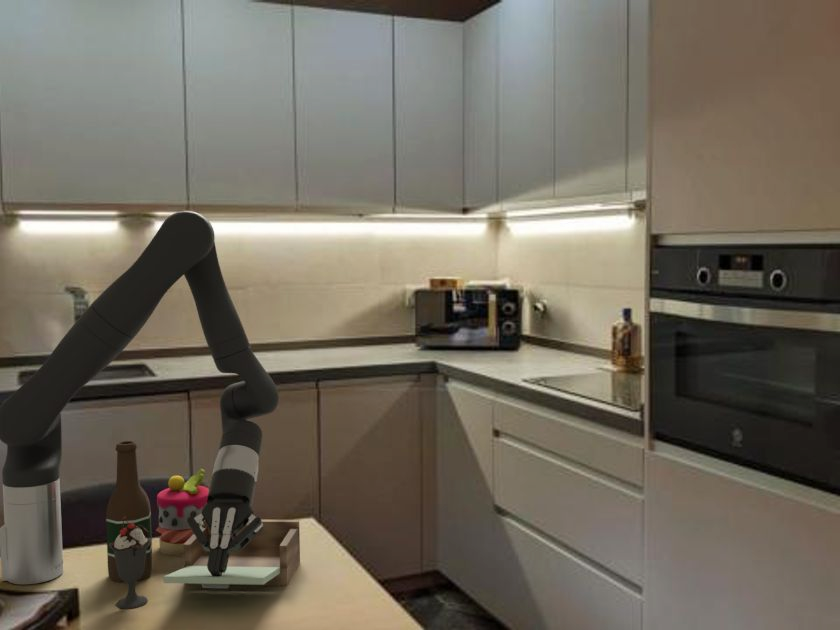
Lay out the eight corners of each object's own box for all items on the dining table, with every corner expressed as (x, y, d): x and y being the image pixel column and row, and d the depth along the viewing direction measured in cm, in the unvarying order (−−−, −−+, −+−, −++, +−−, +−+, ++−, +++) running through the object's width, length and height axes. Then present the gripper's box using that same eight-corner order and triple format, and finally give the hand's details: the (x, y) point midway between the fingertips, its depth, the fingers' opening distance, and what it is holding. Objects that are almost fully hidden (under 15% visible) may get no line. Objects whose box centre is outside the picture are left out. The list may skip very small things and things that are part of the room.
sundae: (114, 614, 139) (110, 522, 138) (108, 599, 145) (104, 510, 144) (156, 606, 142) (153, 515, 141) (148, 592, 148) (146, 505, 147)
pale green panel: (188, 576, 151) (163, 588, 139) (189, 565, 151) (164, 576, 139) (280, 577, 150) (263, 589, 138) (280, 566, 150) (263, 577, 138)
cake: (165, 560, 164) (163, 481, 162) (152, 543, 173) (149, 469, 171) (220, 550, 169) (218, 473, 168) (204, 534, 178) (202, 462, 177)
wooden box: (184, 583, 152) (183, 538, 151) (204, 560, 163) (203, 518, 162) (287, 585, 151) (286, 540, 150) (300, 562, 162) (299, 519, 161)
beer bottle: (139, 584, 151) (135, 448, 150) (98, 581, 153) (93, 446, 151) (161, 568, 159) (157, 438, 157) (122, 565, 161) (118, 437, 159)
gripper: (190, 466, 148) (168, 563, 137) (268, 466, 147) (252, 564, 136) (201, 488, 153) (180, 583, 142) (276, 489, 153) (261, 584, 141)
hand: (215, 574), depth 139 cm, fingers closed
